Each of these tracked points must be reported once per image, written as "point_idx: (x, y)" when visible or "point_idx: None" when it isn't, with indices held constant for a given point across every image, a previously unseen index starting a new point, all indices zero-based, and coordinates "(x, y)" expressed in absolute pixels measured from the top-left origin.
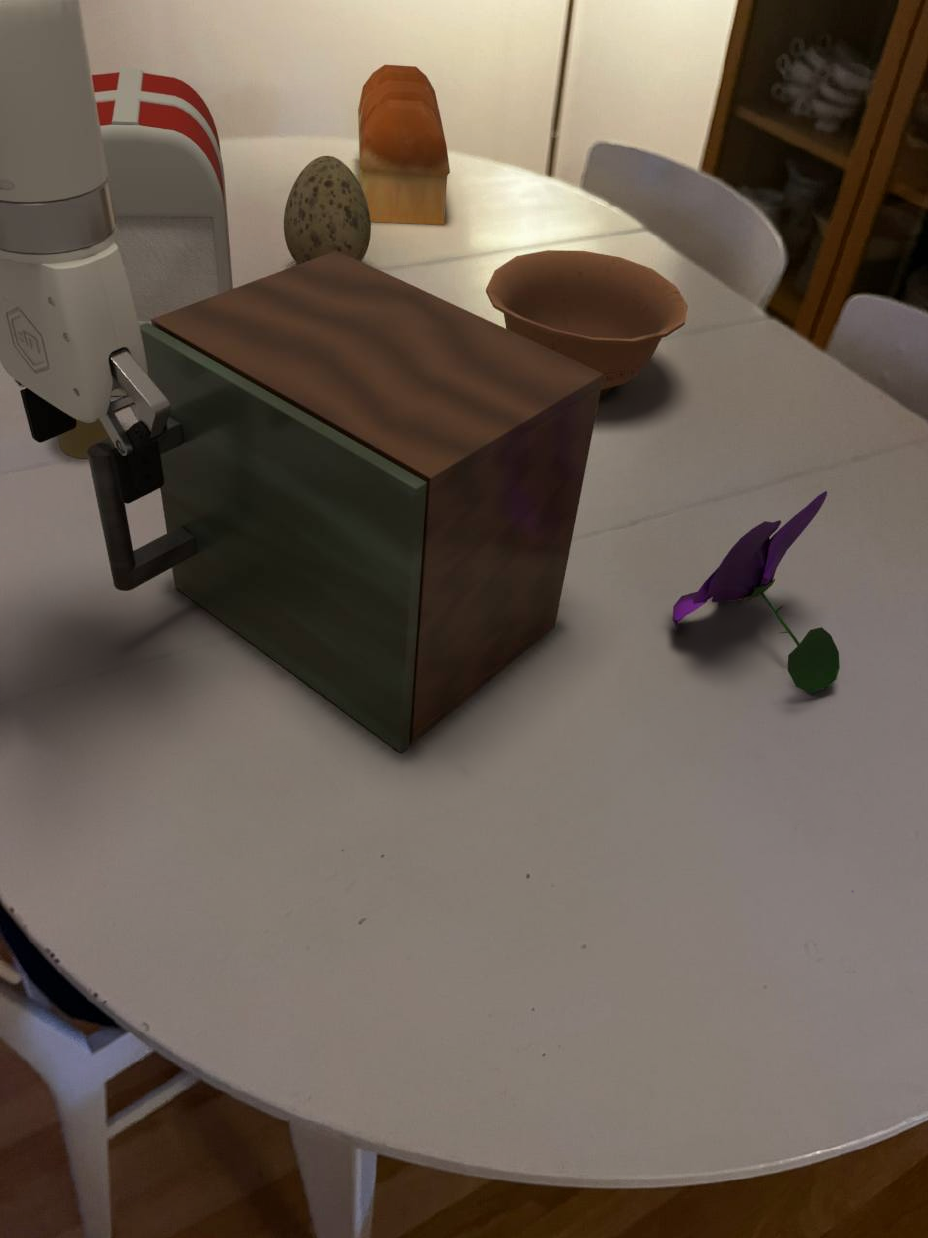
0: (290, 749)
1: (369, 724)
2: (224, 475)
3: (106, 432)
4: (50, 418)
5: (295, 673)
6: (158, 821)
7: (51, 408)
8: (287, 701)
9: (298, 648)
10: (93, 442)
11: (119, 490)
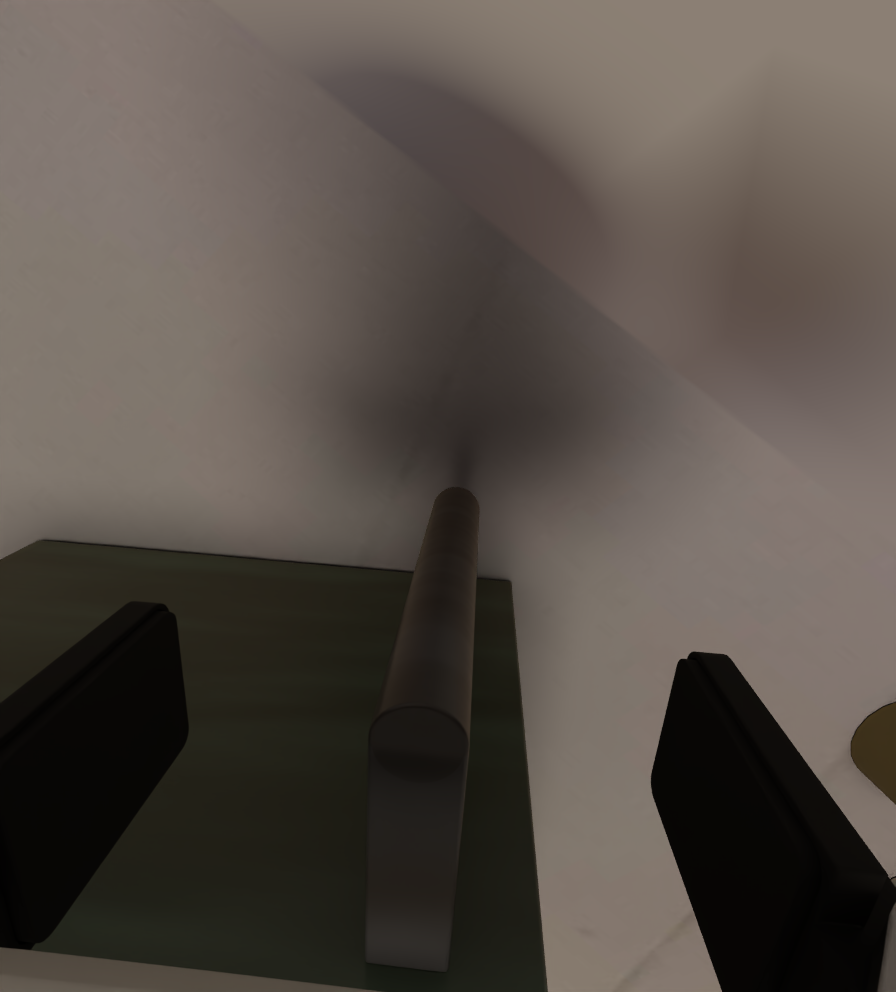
0: (135, 455)
1: (86, 549)
2: (213, 840)
3: (885, 772)
4: (699, 773)
5: (234, 559)
6: (142, 235)
7: (715, 826)
8: (209, 516)
9: (196, 586)
10: (890, 742)
11: (119, 626)
